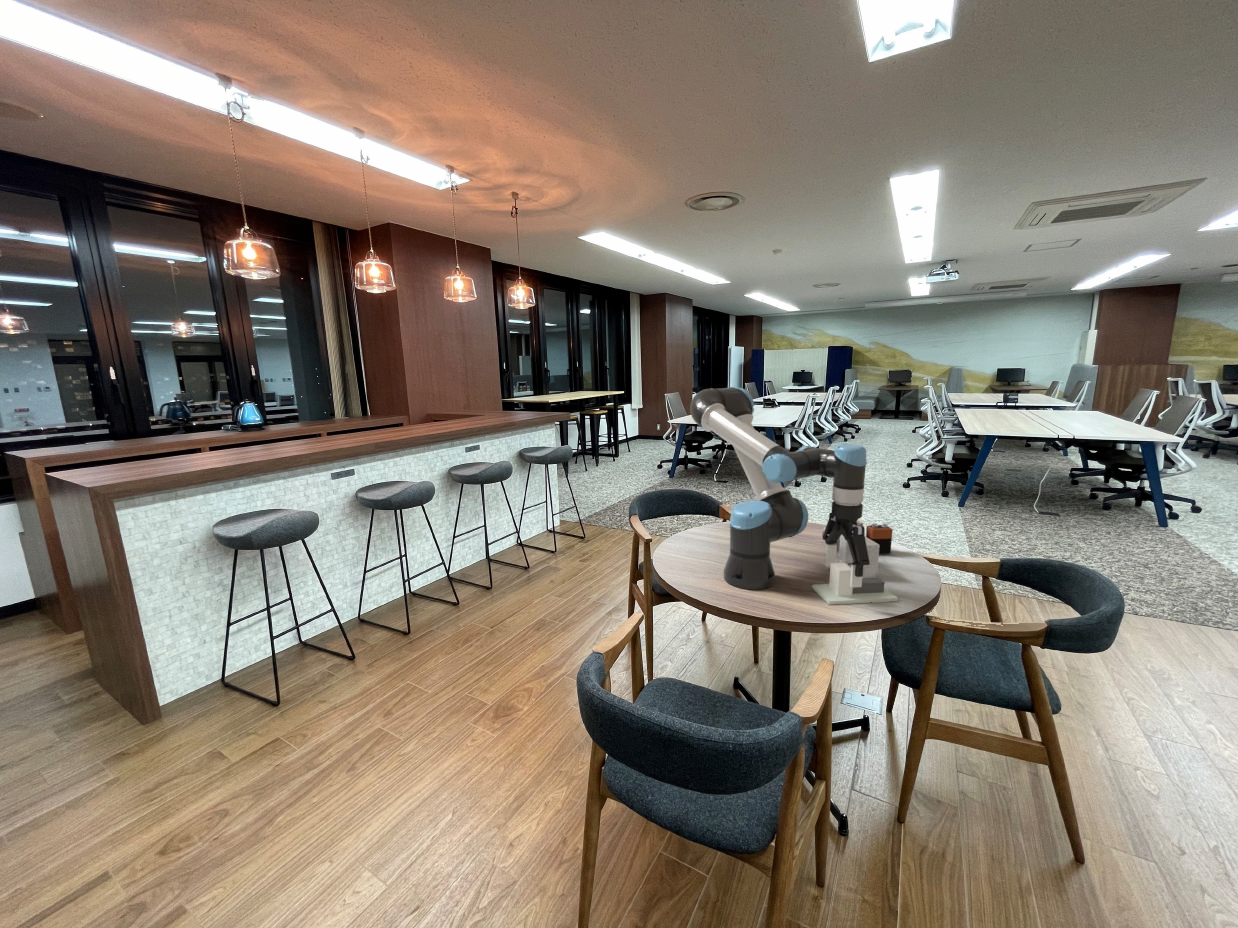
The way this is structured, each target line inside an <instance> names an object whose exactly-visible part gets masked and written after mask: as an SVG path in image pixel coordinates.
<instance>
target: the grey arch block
mask: <svg viewBox="0 0 1238 928" xmlns="http://www.w3.org/2000/svg"><path fill="white" fill-rule="evenodd" d="M865 541H866V546H867V551H868V557H869V562H870V564H869V565H864V566H863V576H862V578H878V568H879V556H880V554H879V546H880V545H879V544H877V543H875V542H874V541H872V540H870V539H869V538H867V537H866V536H865ZM838 560H839V561H840V562H841V563H846V564H847V565H852V564H851V563H853V558H852V555H851V552H850V549H849V545H848V542H847V541H846V540H845V538H844V536H843V535H841V536H840V547H839V551H838Z"/></svg>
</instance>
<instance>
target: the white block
mask: <svg viewBox="0 0 1238 928" xmlns="http://www.w3.org/2000/svg"><path fill="white" fill-rule="evenodd" d="M850 579H851V565H849V564H846V563H843V562H836V563H831V566H830V567H829V583H828V584H829V588H830V589H831V590H832V591H833V592H834V593H835V594H836V595H837V596H852V594H858V593H881V592H884V588H885V581H884V580H882V579H881V578H880V577H877V578H862V587H852V588H851V587H850Z"/></svg>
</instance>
